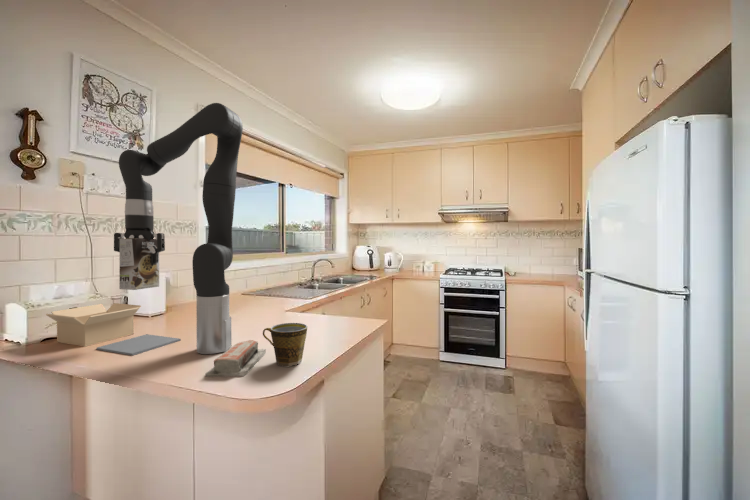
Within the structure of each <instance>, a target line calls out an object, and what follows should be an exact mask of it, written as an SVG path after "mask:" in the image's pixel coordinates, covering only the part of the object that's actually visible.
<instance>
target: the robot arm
mask: <svg viewBox="0 0 750 500" xmlns="http://www.w3.org/2000/svg"><path fill="white" fill-rule="evenodd" d="M243 129H244V128H243V120H242V118H241V117H240V115H238V114H237V113H236V112H235V111H233V110H231V109H230V108H229V107H228V106H226V105H225V104H222V103H219V102H213V103H210V104H207V105H206V106H204V107H203V108H202V109H200V110H199V111H198V112H196V113H194V115H193V116H191V118H189V119H188V120H186V121H185V122H184V123H183V124H181V125H180V126H179V127H178V128H176V129H174V130H173V131H171V132H170V133H168V134H166V135H164V136H162V137H160V138H158V139H156V140H154V141H152V142H151V143H149V144H148V145H147V147H146V152H147V153H143V152H140V151H137V150H134V149H126V150H124V151H122V152H121V153H120V155H119V158H118V167H119V170H120V173H121V178H122V180H123V182H124V185H125V203H124V228H125V230H124V233H123V232H114V233H113V252H117V253H120V239H125V238H143V239H148V240H149V241H150V240H151V239H156V240H157V247H156V245H154V244H150V243H149V242H148V241H147V240H146V242H147V248H148V249H149V250H150V251H151V252H152V254H151V265H156V264H157V263H158V254H159V255H160V253H161V252H164V251H165V250H166V241H165V240H166V239H165V233H163V232H162V233H161V232H157V233H155V232H154V229H155V228H154V227H155V226H154V222H155V221H154V218H155V217H154V205H153V203H154V202H153V187H152V185H151V184H150V183H149V182H147V181H145V180H144V178H143V177H151V176H153V175H155V174H157V173H158V172H160V171H161V170H162V169H163V168H164V167H165V166H166V165H167V164H168V163H170V162H172V161H174V160H176V159H179V158H180V157H182V156H184V155H185V154H186V153H187V152H188V150H189V149H190V148H191V147H192V144H193V143H194V142H195V141H197V140H198V139H200V138H202V137H205V136H207V135H210V134H211V135H214V136H215V137H216V139H217V140H216V142H217V143H216V153H215V157H214V159H213V161H212V162H211V164H210V165H209V167H208V169H207V170H206V172H205V175H204V176H203V177H204V178H203V181H202V205H203V209H204V213H205V217H206V221H207V225H208V226H207V227H208V228H207V229H208V233H207V240H206V243H203V244H200V245H199V246H197V247H196V249H195V251H194V252H193V254H192V255H193V256H192V280H193V287H194V289H195V291H196V295H195V296H196V298H195V299H196V303H195V305H196V307H195V308H196V310H195V311H196V353H198V354H202V355H213V354H218V353H225V352H226V351H227V350H229V349H230V348H231V347H233V346H232V317H231V316H230V286H229V284H228V283H227V282H226V277H225V271H226V270H227V269H228V268H229V267H230V266H231V264H232V262H233V259H234V255H233V253H234V252H233V250H234V249H233V221H234V212H235V200H236V188H237V173H238V162H239V161H238V159H239V152H240V146H241V143H242V137H243Z"/></svg>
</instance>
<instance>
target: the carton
mask: <svg viewBox="0 0 750 500" xmlns="http://www.w3.org/2000/svg"><path fill="white" fill-rule="evenodd" d="M141 307H142V305H140V304H139V305H138V304H137V305H136V304H127V303H118V302H117V303H116V302H115V303H112V304H111V306H110V307H108V309H107V308H105V306H104V305H103V303H99V304H98V303H97V304H92V305H91V304H90V305H85V306H79V307H73V308H66V309H61V310H60V309H59V310H55V311H54V310H53V311H51V313H46V314H45V315H46V316H47V317H49V318H50V319H52V320H54V321H55V322H56V338H57V339H56V343H61V344H68V345H73V346H81V347H89V346H92V345H97V344H100V343H105V342H108V341H113V340H116V339H120V338H123V337H127V336H132V335H134V334H135V333H134V325H135V324H134V323H135V322H134V316H135V314H136V313H137V312H138V311H139V310H140V308H141Z"/></svg>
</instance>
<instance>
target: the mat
mask: <svg viewBox="0 0 750 500" xmlns="http://www.w3.org/2000/svg"><path fill="white" fill-rule="evenodd" d="M180 341H181V338H178V337H172V336H171V337H170V336H164V335H157V334H156V335H155V334H148V333H147V334H146V333H145V334H142V335H138V336H135V337H130V338H127V339H124V340H123V339H122V340H120V341H117V342H113V343H110V344H105V345H101V346H98V347H97V346H96V350H98V351H103V352H109V353H115V354H121V355H127V356H135V355H139V354H142V353H145V352H149V351H152V350H155V349H157V348H162V347H165V346H167V345H171V344H173V343H174V344H175V343H177V342H180Z"/></svg>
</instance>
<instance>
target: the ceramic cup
mask: <svg viewBox="0 0 750 500" xmlns="http://www.w3.org/2000/svg"><path fill="white" fill-rule="evenodd" d="M266 331H268V332H270V337H271V339H270V338H268V337H267V336H266V334H265V332H266ZM307 332H308V326H307V324H305V323H301V322H299V323H298V322H286V323H279V324H276V325H273V326H271V327H266V328H264V329H263V331H262V336H263V338H264V339H266V340H267V342H269V343H270V345H271V346H272V347H273V350H274V351H273V352H274V355H275V361H276V362H275V363H276V364H277V365H278V367H284V366H290V367H293V366H292V365H295V366H298V365H300V364H301V363H302V360H303V355H304V350H305V344H306V343H305V342H306V340H307V339H306V338H307ZM300 362H301V363H300ZM297 364H298V365H297Z"/></svg>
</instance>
